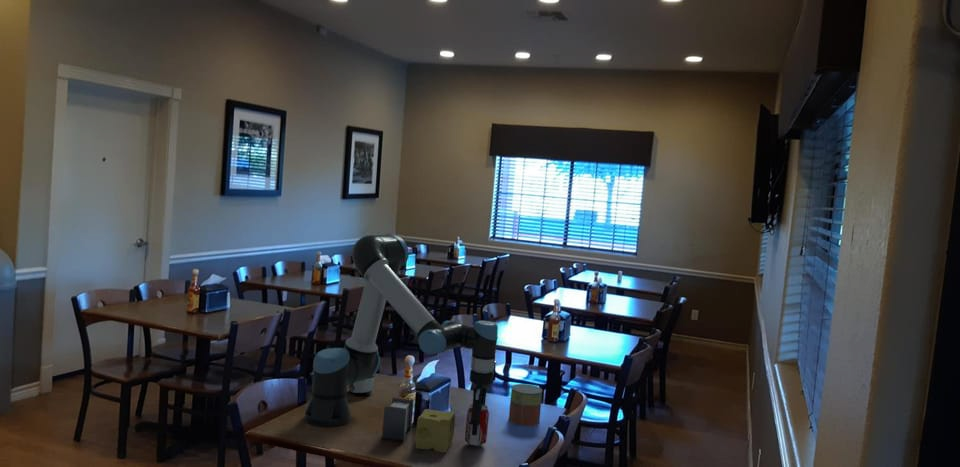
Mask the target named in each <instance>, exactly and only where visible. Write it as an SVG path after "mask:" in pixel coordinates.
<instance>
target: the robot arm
mask: <svg viewBox="0 0 960 467" xmlns="http://www.w3.org/2000/svg"><path fill="white" fill-rule="evenodd" d="M409 251H410V250H409V248H408V245H407V243H406V242H405V240H404V239H403V238H402V237H400V236H399V235H395V234H390V233H389V234H380V235H379V234H376V235H373V234H372V235H371V234H370V235H365V236H362V237H361V238H359V239H358V240H357V241H356V242H355V243H354V245H353V247H352V253H351V256H352V257H351V258H352V261H353V265H354V267H355V269H356V270H357V271H358V273H359V274H360V275H361V277H362V278H363V279H364V280H365V283H364V286H363V290H362V295H361V298H360V302H359V306H358V310H357V312H356V318H355V322H354V326H353V329H352V334H351V337H349V338H347V339H346V340H345V343H344V346H343V348H342V347H332V348H324V349H321V350H320V351H318V352H317V353H316V354H315V356H314V360H313V365H312V368H313V369H312V382H311V383H312V384H311V386H312V387H311V397H310V400H309V403H308V405H307V407H306V410H305V412H304V421H305V422H306V423H307V424H308V425H309V424H310V425H312V426H315V427H321V428H323V427H324V428H332V427H340V426H344V425H346V424H348V423H349V422H350V420H351V410H350V406H349V403H348V398H347V396H348V386H347V385H349V384H352V383H355V382H358V381H362V380H366V379H368V378H369V377H371V376H373V375H374V376H375V374H377V372H378V371H379V369H380V365H381V357H380V356H379V355H380V353H379V347H378V345H377V343H376V340H377V336H378V333H379V329H380V325H381V321H382V317H383V313H384V311H385V305H386V303H389V305H390V306H391V307H392V308H393V309H394V310H395V311H396V313H397V314H398V315H399V316H400V318H402V320H404V322H405V323H406V324H407V325H408V326H409V328H410V329H411V331H413V332H414V334H415V335H416V336H417V337H418V340H417V341H418V343H417V344H418V346H419V349H420V350H421V351H422V352H423V353H424V354H427V355H438V354H440V353H441V354H442V352H445V351H448V350H451V349H455V348H457V347H460V348H464V349H470V350H471V357H470V358H471V361H470V368H471V369H470V372H469V381H470V382H471V383H472V384H475V386H474V388H473V393H472V404H473V406H472V415H471V421H470V422H469V424H471V431H470V441H469V444H468V445H470V444H474V445H478V439H479V429H480V423H479V422H480V415H481V408H482V404H483V405H486V398H487V392H488V387H487V386H488V385H491V384H493V382H494V376H495V374H494V373H495V372H494V370H495V365H496V364H497V361H496V352H497V344H498V333H499V330H498V329H499V328H498V325H497V323H495V322H494V321H491V320H478V321H477V320H476V321H475V323H474V325H472V324H466V323H462V322H458V321H454V320H445V321H443V322H442V324H440V323H439V322H438V321H437V320H436V319H435V317H433V315H432V314H431V313H430V312H429V311H428V310H427V308H426V307H425V306H424V305H423V304H422V303H421V302H420V300H419V299H418V298H417V297H416V295H415V294H413V292H412V291H411V290H410V289H409V288H408V287H407V285H405V283H404V282H403V281H402V280H401V279H400V277H399V276H398V274H399V270H400V268H402V267H403V266H405V265H406V263H407V261H408V260H409V255H410V254H409V253H410V252H409Z"/></svg>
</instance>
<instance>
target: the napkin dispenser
mask: <svg viewBox="0 0 960 467" xmlns="http://www.w3.org/2000/svg"><path fill="white" fill-rule="evenodd" d="M391 398H392V401H391V405H384V407H383V408H384V409H383V410H384V411H383V424H382V436H381V441H387V442H393V443H394V442H395V443H401V444H404V443H405V441H406V440H407V438H408V437H409V436H410V434H411V433H412V425H413V424H412V423H413V411H414V399H410V398H403V397H395V396H393V397H391Z"/></svg>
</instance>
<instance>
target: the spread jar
mask: <svg viewBox="0 0 960 467" xmlns="http://www.w3.org/2000/svg"><path fill="white" fill-rule="evenodd" d="M374 385H375V374H374V375H373V376H371V377H369V378H368V379H366V380H362V381H358V382H355V383H352V384H349V385H347V390H348V391H349V393H350V394H351V395H352V396H357V397H363V396H364V397H365V396H368V395H369V394H371V393H372V392H373V390H374V387H375V386H374Z"/></svg>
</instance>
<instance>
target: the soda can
mask: <svg viewBox="0 0 960 467" xmlns="http://www.w3.org/2000/svg"><path fill="white" fill-rule="evenodd" d="M472 406H473V403H472V404H469V407H468V409H467V413H466V421H465V429H464V430H465V433H464V440H465V442H466V443H467V444H468V445H470V446H475V447H481V446H483V445H484V444H486V443H487V438H488V437H487V436H488V430H489V417H490V412H489V410H488V406H487V405H486V404H485V405H483V404H482V408H481V415H480V422H479V423H480V429H479V439H478V445H474V444H469V441H470V431H471V424H469V422H470V421H471V415H472Z"/></svg>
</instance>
